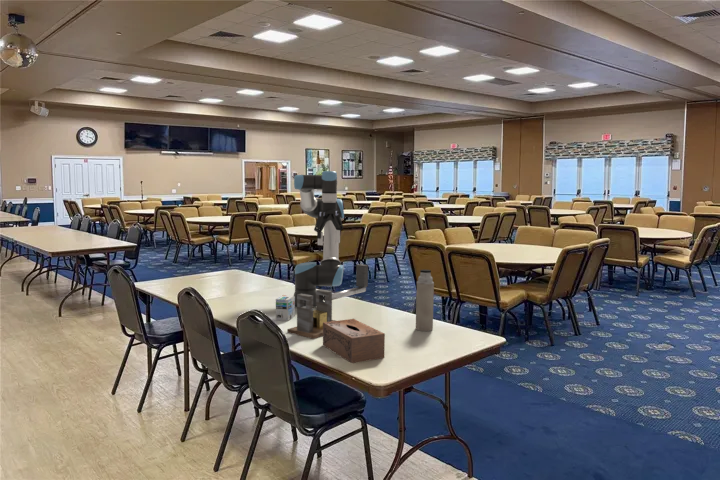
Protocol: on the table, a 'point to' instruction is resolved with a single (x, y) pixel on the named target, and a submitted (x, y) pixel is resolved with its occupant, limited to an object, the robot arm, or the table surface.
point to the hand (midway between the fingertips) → (328, 244)
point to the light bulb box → (285, 307)
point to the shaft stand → (311, 313)
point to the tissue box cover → (353, 340)
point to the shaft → (360, 282)
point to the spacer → (319, 318)
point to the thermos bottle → (424, 301)
